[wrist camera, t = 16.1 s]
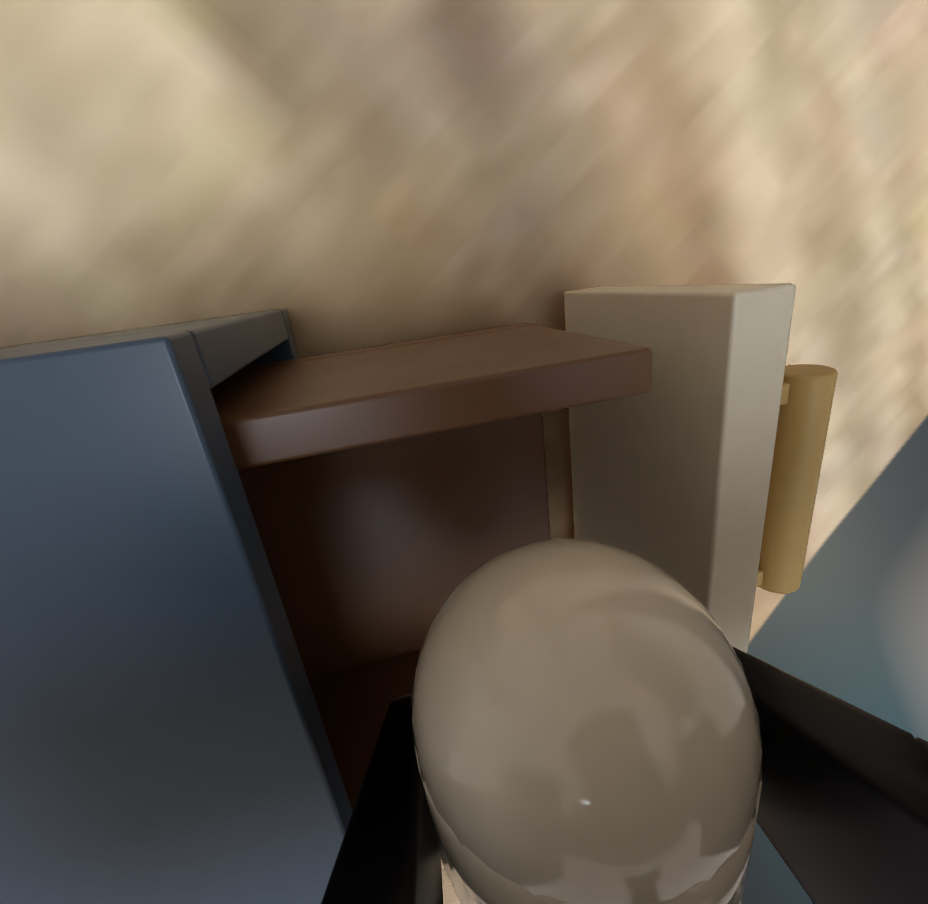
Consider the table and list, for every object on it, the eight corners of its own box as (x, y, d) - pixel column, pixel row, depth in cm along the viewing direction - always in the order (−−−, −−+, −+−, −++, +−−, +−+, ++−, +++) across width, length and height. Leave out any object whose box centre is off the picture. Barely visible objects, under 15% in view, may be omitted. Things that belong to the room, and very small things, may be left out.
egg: (377, 520, 8) (392, 823, 3) (631, 466, 8) (923, 656, 4) (434, 774, 10) (488, 1151, 6) (629, 716, 11) (813, 1009, 6)
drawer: (740, 265, 14) (1027, 247, 8) (711, 581, 19) (884, 724, 13) (78, 362, 12) (-258, 447, 5) (229, 709, 16) (144, 977, 10)
